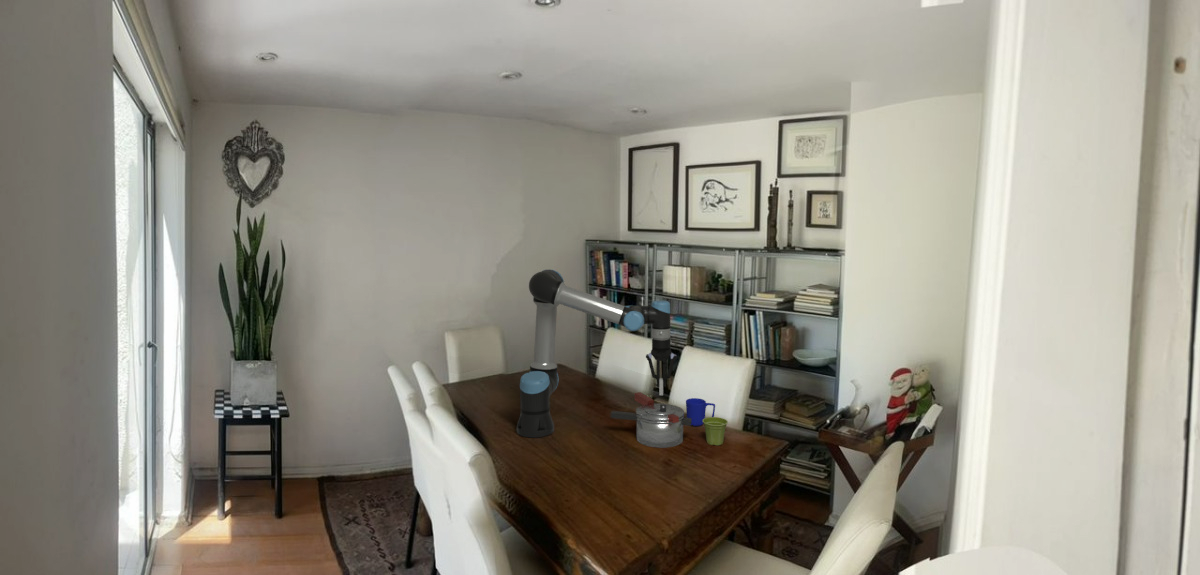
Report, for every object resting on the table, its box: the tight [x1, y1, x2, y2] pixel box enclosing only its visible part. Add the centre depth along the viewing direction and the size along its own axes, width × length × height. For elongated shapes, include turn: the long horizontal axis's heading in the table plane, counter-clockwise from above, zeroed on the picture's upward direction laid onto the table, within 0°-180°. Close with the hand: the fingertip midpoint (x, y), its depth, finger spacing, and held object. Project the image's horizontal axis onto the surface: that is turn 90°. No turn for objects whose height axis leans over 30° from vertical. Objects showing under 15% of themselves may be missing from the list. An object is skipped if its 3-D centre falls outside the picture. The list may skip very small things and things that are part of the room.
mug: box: [685, 397, 716, 427], centre depth 241 cm, size 8×12×10 cm
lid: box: [634, 391, 685, 423], centre depth 227 cm, size 32×19×4 cm, turn 23°
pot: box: [610, 410, 692, 449], centre depth 226 cm, size 32×18×10 cm, turn 73°
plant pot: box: [703, 416, 728, 446], centre depth 220 cm, size 9×9×9 cm
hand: (661, 394), depth 239 cm, fingers closed
